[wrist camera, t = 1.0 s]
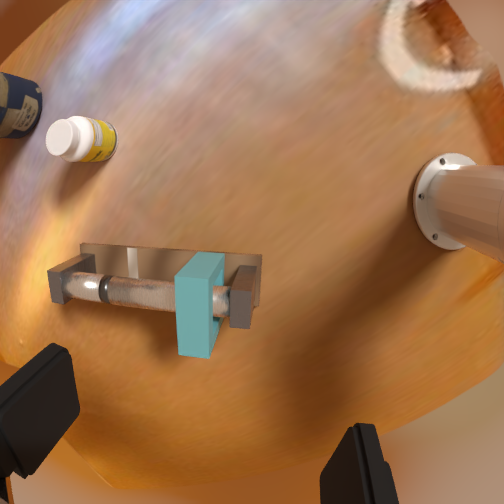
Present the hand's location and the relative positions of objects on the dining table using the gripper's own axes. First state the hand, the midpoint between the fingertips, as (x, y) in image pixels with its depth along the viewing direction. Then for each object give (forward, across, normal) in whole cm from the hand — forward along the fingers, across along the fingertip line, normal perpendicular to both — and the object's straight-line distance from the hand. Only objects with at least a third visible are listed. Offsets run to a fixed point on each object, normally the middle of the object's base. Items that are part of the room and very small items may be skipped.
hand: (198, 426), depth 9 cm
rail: (+29, +12, +7) cm, 32 cm away
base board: (+29, +12, +7) cm, 32 cm away
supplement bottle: (+30, +23, -8) cm, 38 cm away
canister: (+29, +40, -13) cm, 51 cm away
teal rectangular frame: (+26, +5, +6) cm, 27 cm away
